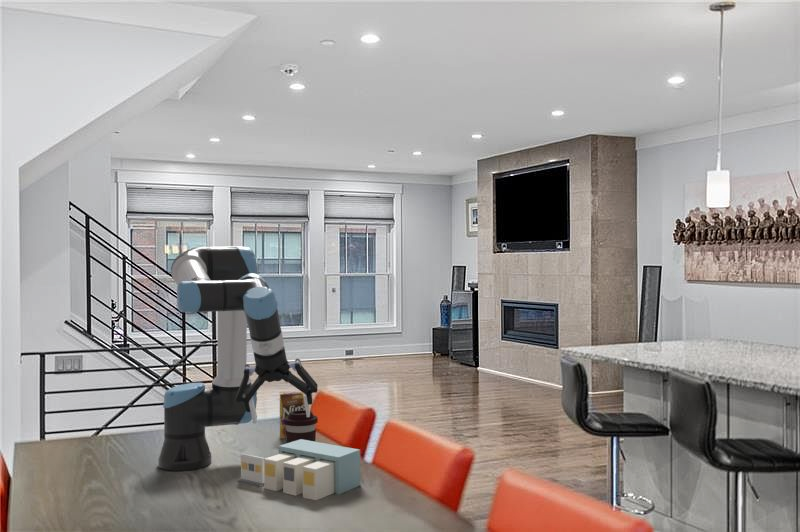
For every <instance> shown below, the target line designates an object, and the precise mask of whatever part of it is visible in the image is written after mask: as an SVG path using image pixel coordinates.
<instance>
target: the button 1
mask: <svg viewBox="0 0 800 532" xmlns="http://www.w3.org/2000/svg"><path fill="white" fill-rule="evenodd" d="M295 458H296V454H295V453H290V452H284V453H281V454H279V453H278V454H274V455H272V456H268V457H265V458H264V485H263V487H264V489H266V490H271V491H274V492H278V491H280V490H283V462H286V461H289V460H292V459H295Z"/></svg>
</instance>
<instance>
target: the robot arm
mask: <svg viewBox="0 0 800 532" xmlns="http://www.w3.org/2000/svg"><path fill="white" fill-rule="evenodd" d="M258 268H259V267H258V262H257V258H256V255H255V252H254V250H253V249H252V248H250V247H249V246H240V245H239V246H238V245H234V246H233V245H231V246H227V245H226V246H223V245H222V246H197V247H192V248H190V249H187V250H185V251H183V252H181V253H180V254H178V255H177V256H176V257H175V259H174V260H173V262H172V264H171V267H170V273H171V277H172V279H173V281H174V282H175V284H176V285H177V288H176V304H177V305H176V306H177V309H178V311H179V312H181V313H192V314H194V313H209V312H213V313H214V312H217V353H216V354H217V361H216V362H217V365H216V366H217V367H216V368H217V371H216V372H217V374H216V376H215V377H214V378H212V381H211V386H209V387H208V386H207V387H206V385H205V383H204V382H189V383H183V384H180V385H176V386H173V387H171V388H168V389H167V390H166V391H165V393H164V394H163V395H164V396H163V397H164V398H163V405H162V406H163V410H164V411H163V415H164V416H163V423H164V426H163V428H164V429H163V430H164V431H163V434H164V435H163V436H164V437H163V438H164V439H163V442H162V446H161V450H160V453H159V456H158V459H157V460H158V465H157V466H158V468H159V469H161V470H163V471H173V472H174V471H176V472H178V471H182V472H183V471H191V470H197V469H200V468H205V467H207V466H209V465H210V464H212V452H211V451H210V447H209V444H208V441H207V438H206V428H209V427H220V426H221V427H222V426H232V425H236V426H238V425H241V424H248V423H250V422H251V421H252V424H254V425H255V424H257V420H258V415H257V404H258V403H257V402H258V396H257V394H258V390H259V388H260V387H261V386H263V385H264V383H265V382H268V383H272V382H281V381H282V380H283V381H284V382H286V383H289V384H290V385H291V386H293V387H294V388H296V389H297V390H299V392H303V393H304V394H303V398H304V404H305V409H306V415H307V417H310V411H311V409H310V405H313V395H312V394H313V393H315V394H316V393H318V390H319V389H318V383H317V382H316V381H315V380H314V378H313V377H312V376H311V375H310V373H308V371H307V369H305V367H303V365H302V361H301V360H300V359H299V358H296V359H295V360H294V361H290V362H289V361H288V359H287V354H286V348H285V343H284V337H283V331H282V327H281V322H280V317H279V309H278V301H277V299H276V295H275V291H274V290H273V289H271V288H270V287H269V285H268V283H267V281H266V280H265V279H264V277H263V276H261V275H260V274H259V269H258ZM248 331H249V337H250V343H251V346H252V347H251V348H252V350H253V356H254V357H253V359H254V362H255V366H250V365H249V364H247V354H248V352H247V348H248V347H247V345H248V344H247V343H248V342H247V338H248V334H247V333H248ZM290 369H292V370H293V371H294V372H296V373H297V375H298V376H299V377H300V378H301V379H300V378H299V377H298V376H296V375H295V374H293V373H292V371H291V370H290ZM254 373H255V374H256V375H258V376H257V377H256V378H255V380H254V382H253V383H252V378H251V377H252V376H253V374H254Z"/></svg>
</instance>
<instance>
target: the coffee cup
mask: <svg viewBox="0 0 800 532" xmlns="http://www.w3.org/2000/svg"><path fill="white" fill-rule="evenodd" d="M318 420H319V419H318V415H314V413H313V411H311V410H310V417H307V415H306V410H297V411H292V412H290V413H289V415H288V416H287V417H285V418H284V424H285V425H286V438H285V439H286V440H285V441H286V444H287V443H290V442H293V441H297V440H300V439H303V440H309V441H314V442H316V437H317V436H316V435H317V434H316V433H317V429H316V424H317V423H318Z"/></svg>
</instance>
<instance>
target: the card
mask: <svg viewBox="0 0 800 532" xmlns="http://www.w3.org/2000/svg"><path fill="white" fill-rule="evenodd" d="M264 459H265V458H264V457H261V456H257V455H252V454H246V453H241V454H240V478H238V479H237V482H238V483H244V484H247V483H248V485H251V484H252V486H255V485H257V487H263V486H264Z"/></svg>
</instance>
